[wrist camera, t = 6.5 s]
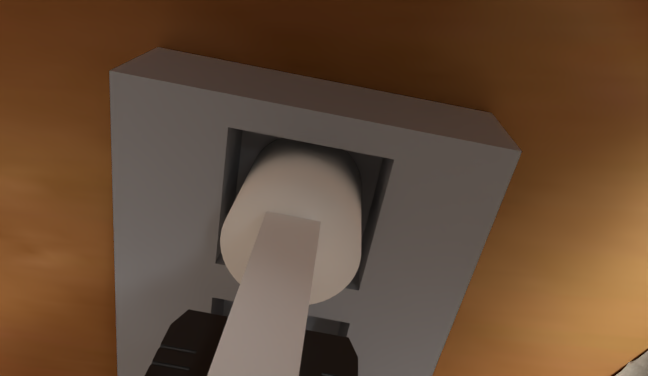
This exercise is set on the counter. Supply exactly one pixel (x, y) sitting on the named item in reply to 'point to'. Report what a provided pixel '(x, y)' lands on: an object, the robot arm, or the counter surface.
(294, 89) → the button board
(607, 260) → the counter surface
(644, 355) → the condiment
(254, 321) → the robot arm
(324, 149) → the white button
